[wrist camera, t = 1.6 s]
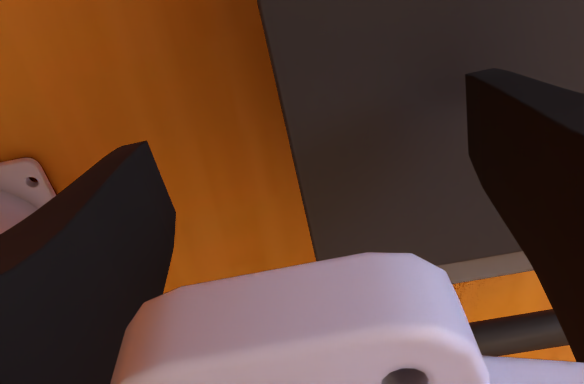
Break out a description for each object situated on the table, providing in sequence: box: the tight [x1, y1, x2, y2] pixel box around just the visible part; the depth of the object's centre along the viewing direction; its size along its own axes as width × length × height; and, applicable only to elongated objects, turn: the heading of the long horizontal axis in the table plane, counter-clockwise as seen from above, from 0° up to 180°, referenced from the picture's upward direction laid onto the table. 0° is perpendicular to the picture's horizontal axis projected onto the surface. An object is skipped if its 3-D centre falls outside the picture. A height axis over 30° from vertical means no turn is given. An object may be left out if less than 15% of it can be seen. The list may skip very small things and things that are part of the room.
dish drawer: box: [437, 251, 569, 356], centre depth 18 cm, size 19×13×7 cm
